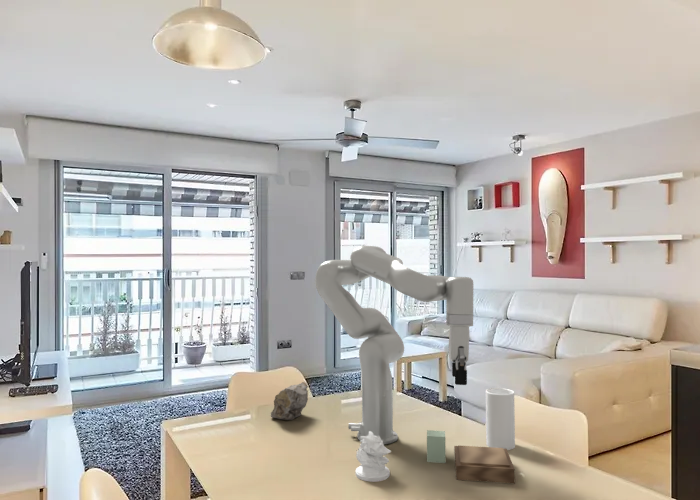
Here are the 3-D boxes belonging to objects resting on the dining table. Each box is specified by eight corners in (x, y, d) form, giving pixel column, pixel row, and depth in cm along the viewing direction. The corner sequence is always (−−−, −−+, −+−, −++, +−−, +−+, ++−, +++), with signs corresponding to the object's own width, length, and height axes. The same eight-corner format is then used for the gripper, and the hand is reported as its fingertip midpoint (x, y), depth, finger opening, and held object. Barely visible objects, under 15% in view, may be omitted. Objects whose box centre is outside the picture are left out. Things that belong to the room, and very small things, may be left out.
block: (426, 461, 137) (426, 436, 137) (427, 455, 142) (427, 430, 142) (445, 463, 136) (445, 437, 136) (445, 456, 141) (445, 431, 141)
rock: (284, 405, 188) (300, 371, 185) (304, 420, 184) (321, 385, 182) (259, 418, 172) (276, 381, 170) (281, 434, 169) (299, 397, 166)
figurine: (387, 485, 122) (387, 442, 122) (350, 482, 124) (350, 439, 124) (394, 466, 133) (394, 427, 134) (360, 463, 136) (360, 424, 136)
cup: (516, 451, 145) (515, 395, 145) (487, 449, 146) (486, 393, 147) (513, 441, 153) (512, 388, 153) (485, 439, 154) (484, 387, 155)
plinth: (456, 479, 125) (456, 463, 125) (454, 458, 139) (454, 443, 139) (514, 483, 123) (514, 467, 123) (506, 461, 137) (506, 446, 137)
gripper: (444, 316, 151) (444, 373, 151) (448, 323, 134) (447, 387, 134) (469, 317, 150) (469, 374, 150) (476, 324, 133) (476, 388, 133)
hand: (459, 380), depth 142 cm, fingers open, 9 cm apart
